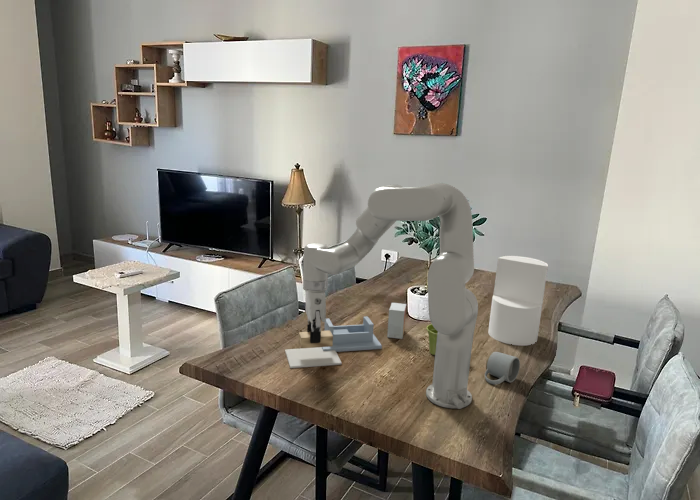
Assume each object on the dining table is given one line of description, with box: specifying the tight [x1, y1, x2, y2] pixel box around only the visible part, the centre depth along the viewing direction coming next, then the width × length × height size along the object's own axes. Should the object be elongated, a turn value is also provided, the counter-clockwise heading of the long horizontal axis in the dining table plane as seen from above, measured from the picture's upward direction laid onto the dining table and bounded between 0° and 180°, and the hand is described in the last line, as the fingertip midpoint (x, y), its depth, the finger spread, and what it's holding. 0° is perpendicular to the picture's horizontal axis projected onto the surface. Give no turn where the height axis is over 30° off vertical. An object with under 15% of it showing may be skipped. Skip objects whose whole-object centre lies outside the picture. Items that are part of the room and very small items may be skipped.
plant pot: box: [426, 323, 438, 356], centre depth 170 cm, size 9×9×9 cm
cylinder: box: [488, 255, 549, 346], centre depth 185 cm, size 17×17×28 cm
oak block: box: [298, 330, 333, 348], centre depth 162 cm, size 10×4×4 cm, turn 104°
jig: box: [322, 315, 383, 353], centre depth 175 cm, size 20×14×8 cm
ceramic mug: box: [484, 351, 521, 386], centre depth 155 cm, size 11×8×8 cm
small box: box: [386, 302, 407, 340], centre depth 183 cm, size 8×6×10 cm
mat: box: [284, 347, 342, 369], centre depth 163 cm, size 12×16×1 cm
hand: (313, 338), depth 162 cm, fingers closed on oak block, 4 cm apart
